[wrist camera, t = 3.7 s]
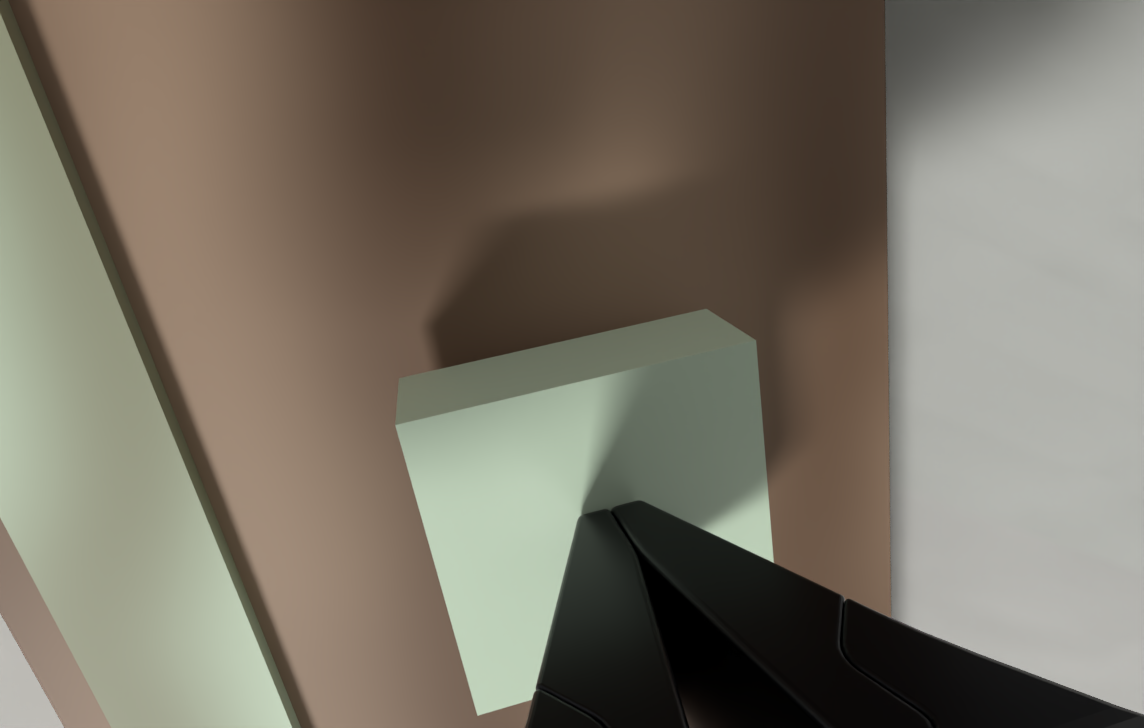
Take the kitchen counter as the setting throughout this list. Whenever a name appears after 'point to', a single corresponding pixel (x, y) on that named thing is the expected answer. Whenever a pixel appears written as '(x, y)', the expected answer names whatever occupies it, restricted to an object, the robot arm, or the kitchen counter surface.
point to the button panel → (392, 310)
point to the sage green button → (575, 469)
